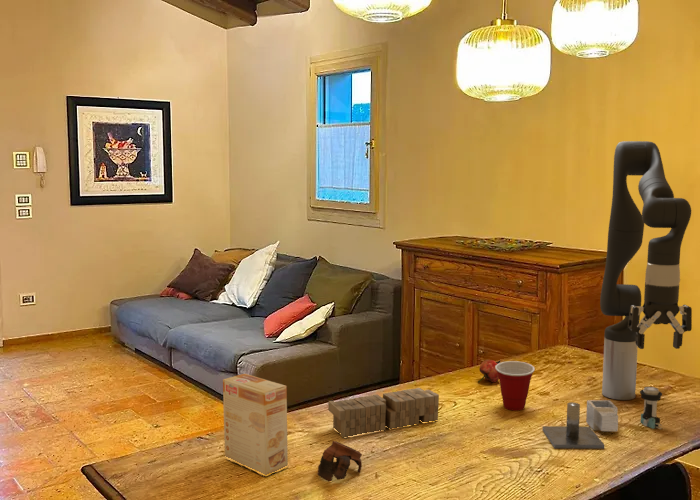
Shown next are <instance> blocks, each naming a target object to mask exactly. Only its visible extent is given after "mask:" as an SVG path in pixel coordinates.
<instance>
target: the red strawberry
mask: <svg viewBox="0 0 700 500" xmlns="http://www.w3.org/2000/svg"><path fill="white" fill-rule="evenodd" d="M498 363H501V360H498V361H495V360H493V359H486V360H484V361H482V362H481V364H480V365H479V372H480V373H481V374H482V375H483V376H482V377H481V378H480V379H479V380H478V381H477V383H480V382H481V381H482V380H483V379H485V380H486V381H490V382H491V383H496V382H498V381H499V376H498V372H497V370H496V367H495V366H496V365H497V364H498Z"/></svg>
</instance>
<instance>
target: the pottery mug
mask: <svg viewBox="0 0 700 500" xmlns="http://www.w3.org/2000/svg"><path fill="white" fill-rule="evenodd" d="M362 455H363V454H362V453H361V452H360V451H358V450H356V449H354V448H352V447H349V445H346V444H343V443H340V442H339V441H336V440H335V441H334V440H332V443H331V445H329V446H328V447H327V448H325V449H324V450H323V452H322V456H321V458H320V461H319V464H318V466H317V473H316V474H317V475H318V476H319V477H320V478H321V479H322V480H325V481H326V482H329V481H333V477H334V478H335V479H336V480H344V479H345V478H346V476H347V472H348V470H349V468H350V466H351V461H353V462H354V463H355V464H356V465H357V466H358V468H357V473H358V472H359V474H360V473H361V471H362V468H363V467H362V466H363V465H362V463H363V462H362V460H361V457H362Z"/></svg>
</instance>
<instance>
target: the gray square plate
mask: <svg viewBox="0 0 700 500" xmlns="http://www.w3.org/2000/svg"><path fill="white" fill-rule="evenodd" d="M566 405H567V406H566V425H563V426H557V425H556V426H554V425H553V426H552V425H551V426H549V425H548V426H546V425H545V426H543V425H542V431H543V433H544V435H545V436H546V438H547V439H548V441H549V442H550V444H551V446H552V447H553V449H574V450H576V449H577V450H579V449H580V450H581V449H583V450H584V449H585V450H587V449H589V450H601V449H602V450H604V449H605V444H604V443H603V441H602V440H601V439H600V438H599V436H598V435H597V434H596V433H595V432H594V430H592V428H591V427H590V426H580V410H581V404H580V403H578V402H570V401H569V402H567V403H566Z"/></svg>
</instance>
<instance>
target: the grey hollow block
mask: <svg viewBox="0 0 700 500" xmlns="http://www.w3.org/2000/svg"><path fill="white" fill-rule="evenodd" d="M585 423H586V424H587V425H588V427H590V428H591V429H592V430H593V431H601V432H618V431H619V430H618V429H619V415H618V407H617V406H616V405H615V404H614V403H613V402H612V401H611V400H608V399H607V400H606V399H603V400H601V399H600V400H599V399H593V400H591V399H589V400H586V421H585Z"/></svg>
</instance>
